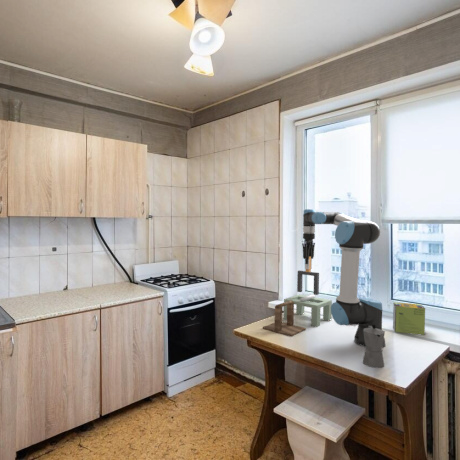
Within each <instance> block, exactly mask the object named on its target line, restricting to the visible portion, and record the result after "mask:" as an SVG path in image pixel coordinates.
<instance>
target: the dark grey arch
mask: <svg viewBox="0 0 460 460" xmlns="http://www.w3.org/2000/svg"><path fill="white" fill-rule="evenodd" d="M303 275H304V276H312V277H313V294H314V295H315V296H318V295H320V293H319V291H320V273H319V272H315V271H312V270H311V257H309V269H305V270H297V277H296V279H297V280H296V281H297V284H296V285H297V286H296V287H297V288H296V291H297V293H301V292H302V293H303Z"/></svg>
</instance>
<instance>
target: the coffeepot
mask: <svg viewBox="0 0 460 460" xmlns="http://www.w3.org/2000/svg"><path fill="white" fill-rule="evenodd" d="M372 326H373V327H372ZM372 326H370V325H367V328H364V330H363V332H364V340H365V345H366V346H365V348H364V355H363V358H362V359H363V360H362V363H363V365H365V366H367V367H369V368H370V367H371V368H373V369H374V368H375V369H379V368H384V366H385V363H384V362H385V361H384V355H383V349H382V348H383V347H382V345H383V339H384V338H385V334H386V331H384V330H383V329H382V330H381V329H377V328H375V327H376V325H375V324H372Z"/></svg>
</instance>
